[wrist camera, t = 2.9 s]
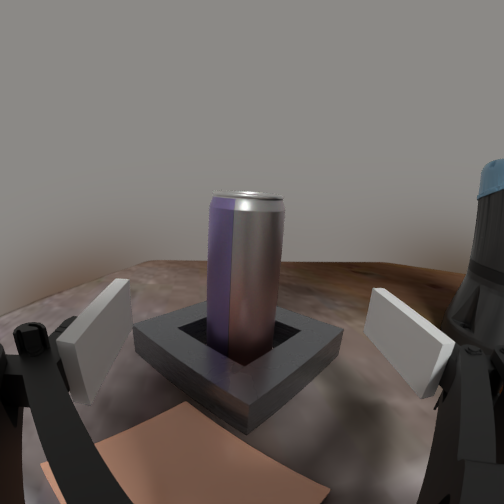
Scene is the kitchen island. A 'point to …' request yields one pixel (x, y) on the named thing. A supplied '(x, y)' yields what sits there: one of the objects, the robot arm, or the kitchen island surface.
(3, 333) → the kitchen island surface
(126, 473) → the terracotta tile
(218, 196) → the beverage can
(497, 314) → the robot arm
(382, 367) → the kitchen island surface
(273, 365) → the socket block
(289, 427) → the kitchen island surface
